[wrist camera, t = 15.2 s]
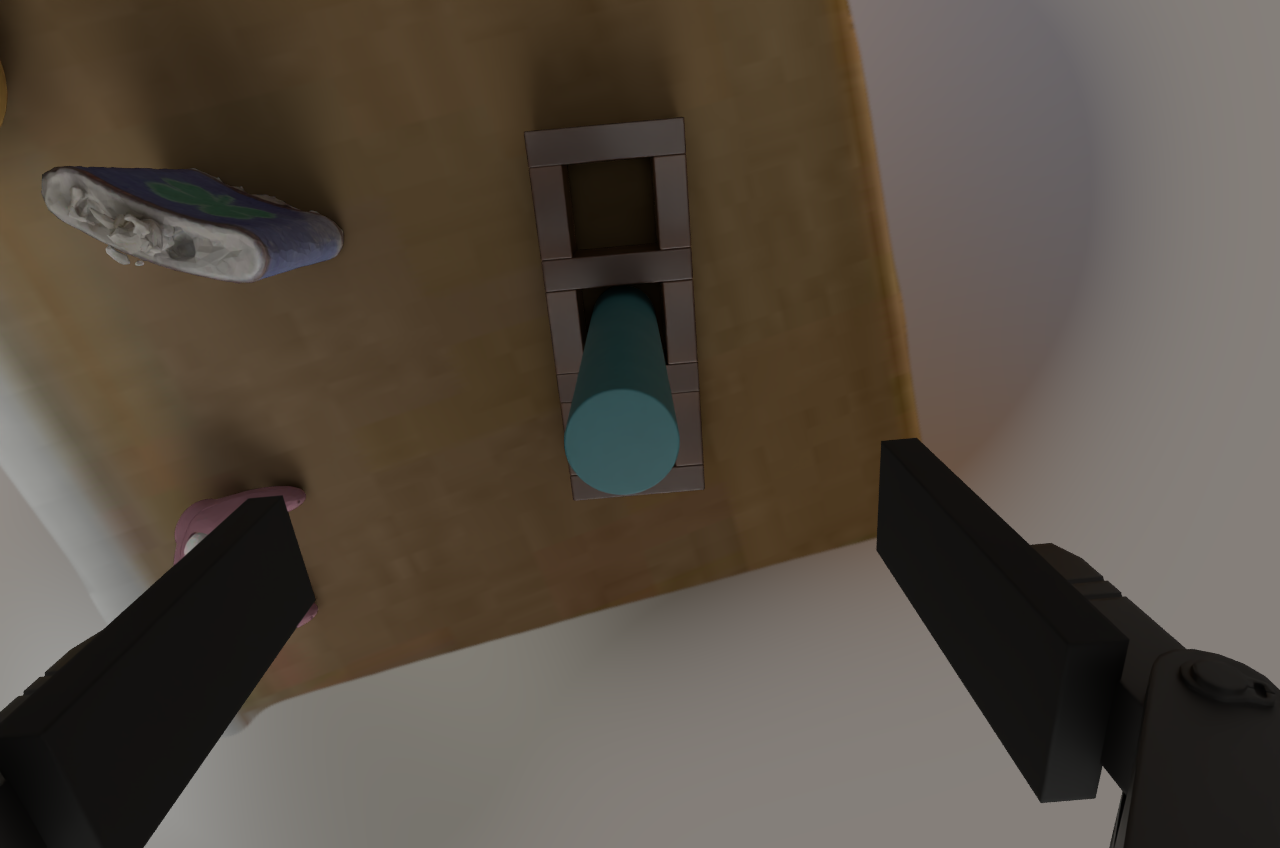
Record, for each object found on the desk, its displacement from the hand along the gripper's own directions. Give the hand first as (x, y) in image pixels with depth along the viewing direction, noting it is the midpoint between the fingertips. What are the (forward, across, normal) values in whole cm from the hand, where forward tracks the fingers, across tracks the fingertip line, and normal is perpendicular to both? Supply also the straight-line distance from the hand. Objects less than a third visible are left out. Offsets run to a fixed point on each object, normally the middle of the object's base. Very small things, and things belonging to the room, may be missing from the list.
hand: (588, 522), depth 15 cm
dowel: (+25, +1, -1) cm, 25 cm away
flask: (+26, -18, +6) cm, 32 cm away
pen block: (+25, +1, -1) cm, 25 cm away
